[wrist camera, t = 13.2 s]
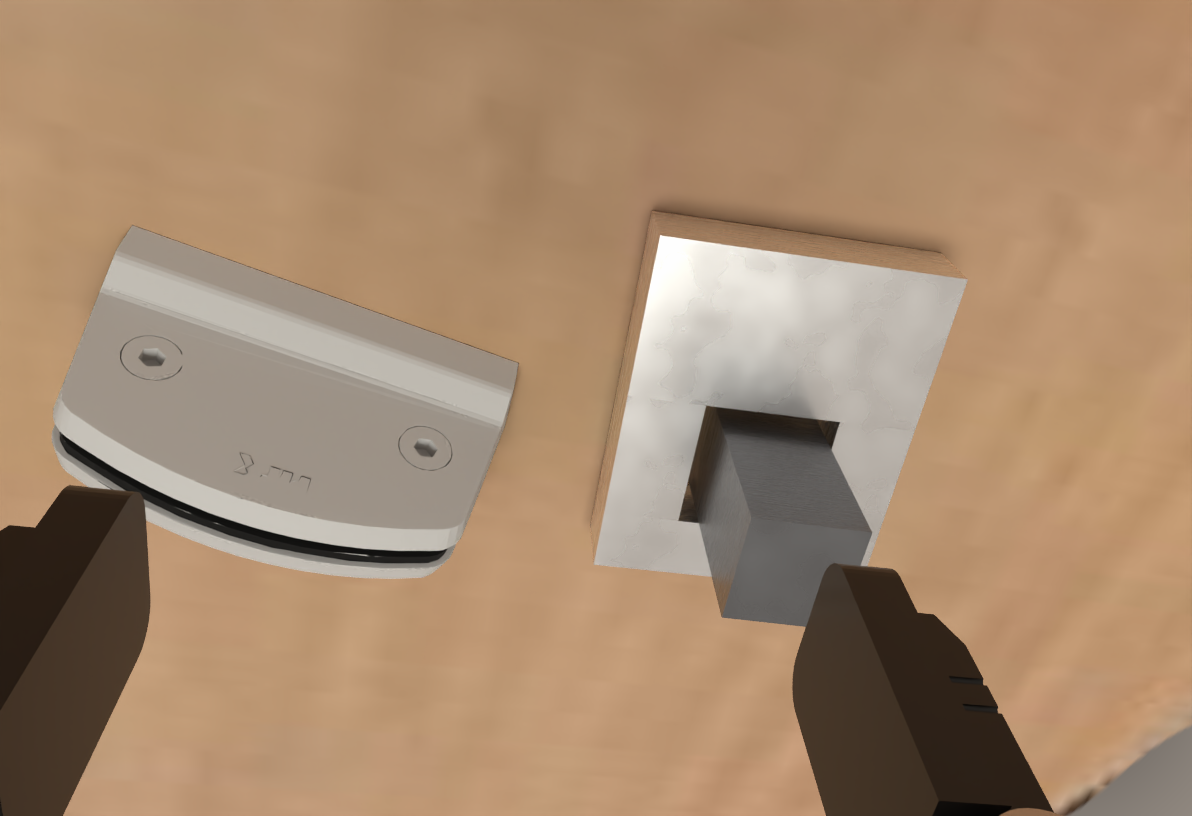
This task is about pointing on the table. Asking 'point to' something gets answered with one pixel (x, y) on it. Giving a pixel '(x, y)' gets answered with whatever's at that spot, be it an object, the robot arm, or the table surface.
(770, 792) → the table surface
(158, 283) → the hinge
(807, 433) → the square peg
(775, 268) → the square hole plate
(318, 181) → the table surface
